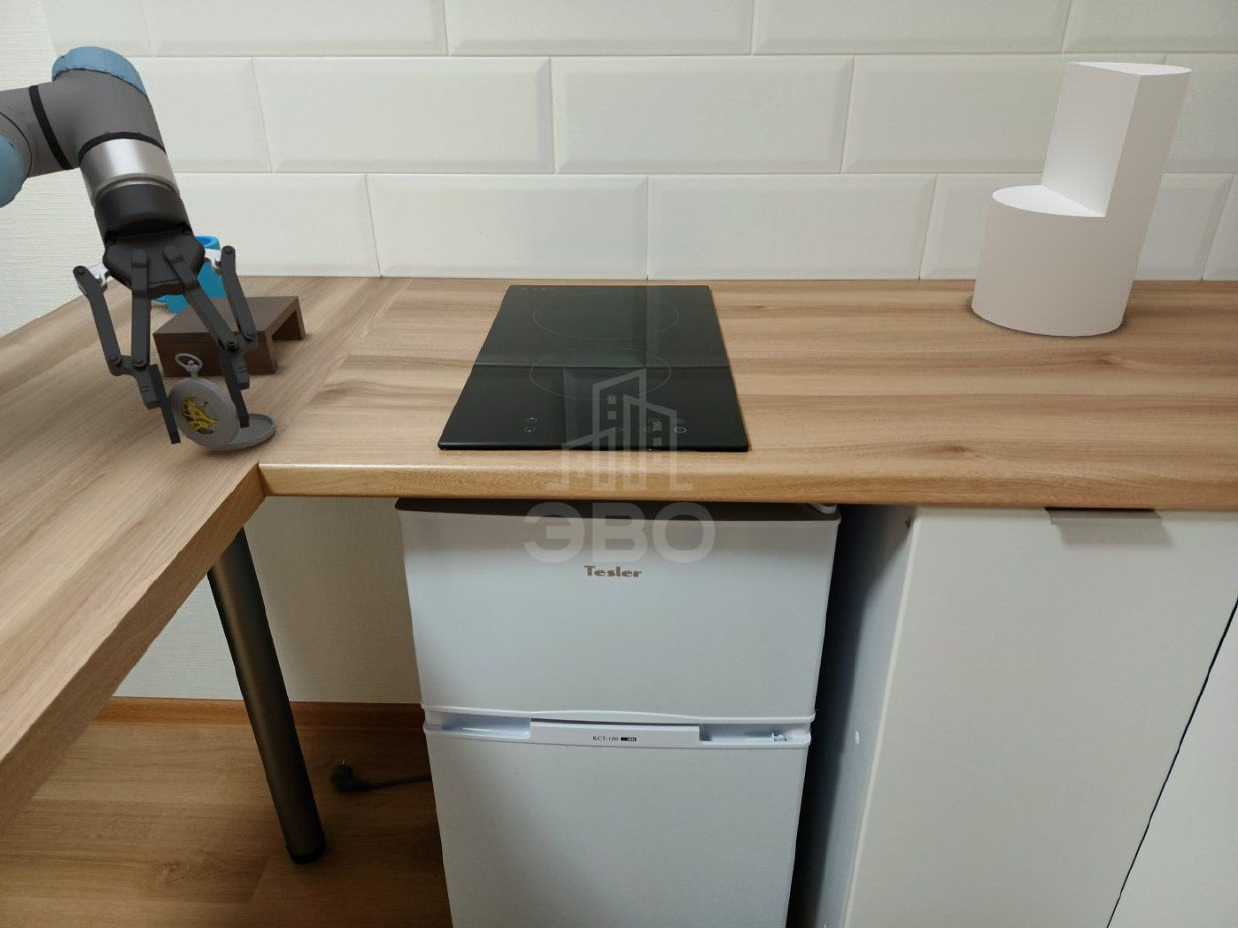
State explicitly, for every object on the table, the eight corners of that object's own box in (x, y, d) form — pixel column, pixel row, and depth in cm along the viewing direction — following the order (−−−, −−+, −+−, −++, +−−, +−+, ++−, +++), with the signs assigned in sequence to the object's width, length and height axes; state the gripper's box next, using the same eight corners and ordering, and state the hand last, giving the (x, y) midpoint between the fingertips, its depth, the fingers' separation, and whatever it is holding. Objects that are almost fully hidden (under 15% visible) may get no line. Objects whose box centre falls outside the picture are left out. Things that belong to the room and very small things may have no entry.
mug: (238, 292, 121) (224, 233, 117) (226, 310, 114) (211, 249, 110) (146, 299, 119) (129, 239, 115) (129, 318, 112) (110, 256, 108)
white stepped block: (1082, 290, 115) (1140, 61, 102) (1149, 335, 100) (1227, 73, 87) (952, 291, 116) (993, 63, 102) (999, 337, 101) (1054, 76, 87)
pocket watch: (276, 417, 85) (254, 321, 80) (276, 456, 78) (251, 352, 73) (187, 431, 82) (158, 332, 78) (178, 471, 76) (146, 366, 71)
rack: (164, 376, 94) (151, 333, 92) (207, 337, 105) (197, 298, 102) (274, 373, 95) (264, 330, 92) (306, 335, 105) (298, 295, 103)
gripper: (241, 216, 87) (312, 421, 82) (35, 241, 79) (101, 471, 74) (239, 169, 80) (316, 389, 76) (14, 191, 72) (85, 440, 68)
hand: (210, 429), depth 75 cm, fingers closed on pocket watch, 5 cm apart
